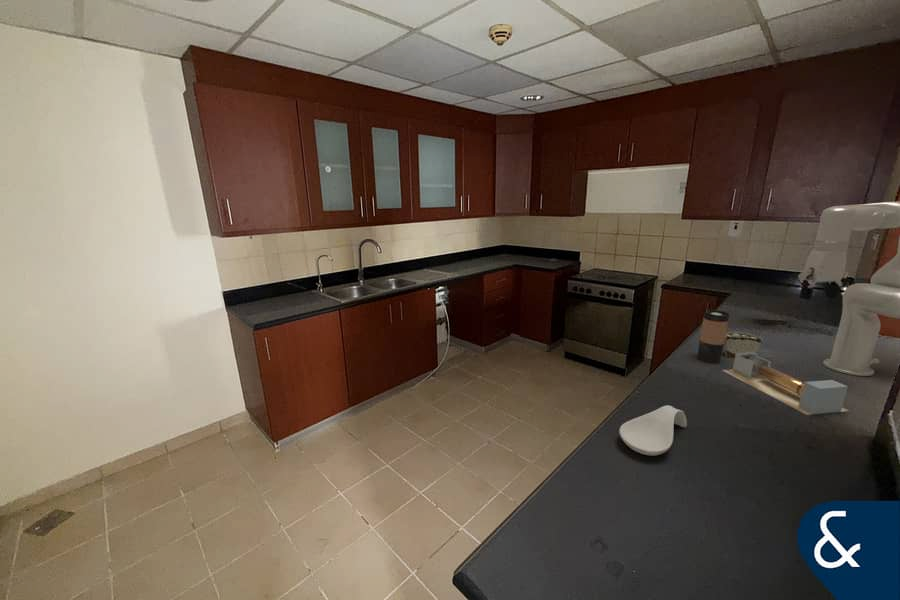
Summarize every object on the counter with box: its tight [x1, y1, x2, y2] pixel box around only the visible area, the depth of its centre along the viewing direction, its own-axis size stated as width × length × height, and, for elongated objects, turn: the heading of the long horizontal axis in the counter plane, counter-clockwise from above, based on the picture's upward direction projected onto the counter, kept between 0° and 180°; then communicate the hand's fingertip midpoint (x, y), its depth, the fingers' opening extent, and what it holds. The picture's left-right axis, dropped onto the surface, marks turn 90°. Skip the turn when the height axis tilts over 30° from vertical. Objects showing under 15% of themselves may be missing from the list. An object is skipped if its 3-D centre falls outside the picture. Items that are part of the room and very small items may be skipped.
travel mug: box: [697, 309, 730, 365], centre depth 138 cm, size 8×8×20 cm
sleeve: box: [732, 352, 772, 380], centre depth 126 cm, size 7×7×7 cm
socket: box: [799, 379, 849, 415], centre depth 105 cm, size 9×4×8 cm, turn 96°
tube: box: [758, 366, 805, 396], centre depth 113 cm, size 18×4×4 cm, turn 6°
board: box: [722, 368, 850, 416], centre depth 118 cm, size 14×29×1 cm, turn 6°
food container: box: [724, 331, 764, 359], centre depth 142 cm, size 12×6×10 cm, turn 71°
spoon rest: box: [618, 405, 688, 456], centre depth 95 cm, size 24×12×7 cm, turn 125°
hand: (818, 298), depth 121 cm, fingers open, 9 cm apart
